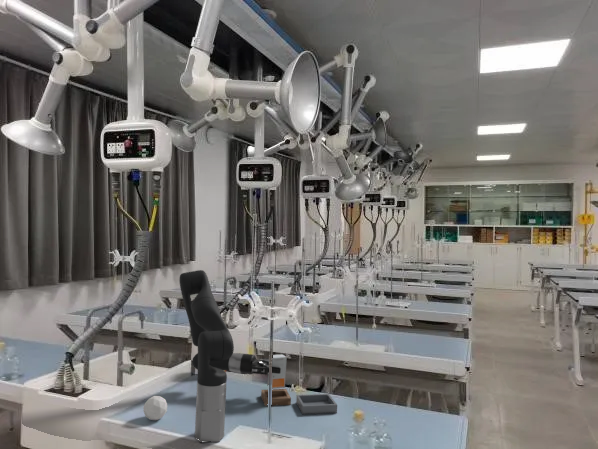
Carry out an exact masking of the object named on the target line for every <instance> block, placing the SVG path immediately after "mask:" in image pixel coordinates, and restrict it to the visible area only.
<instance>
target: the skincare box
mask: <svg viewBox="0 0 598 449" xmlns="http://www.w3.org/2000/svg"><path fill="white" fill-rule="evenodd" d="M270 355H271V354H269V356H270ZM272 355H273V358H272V367H280V368H281V373H280V374H277V373H272V389H286V388H285V387H286V374H287V360H288V358H287V356H285V355H284V354H272ZM269 356H268V357H269ZM268 366H269V365H268ZM268 385H269V373H268V374H267V387H268Z"/></svg>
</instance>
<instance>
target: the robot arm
mask: <svg viewBox="0 0 598 449" xmlns="http://www.w3.org/2000/svg"><path fill="white" fill-rule="evenodd" d="M178 280H179V287H180V292H181V295H182V296H181V297H182V301H183V304H184V308H185V312H186V315H187V320H188V322H189V329H190V335H191V340H192V344H193V345H194V346H195V347H197V353H196V354H195V355H193V358H192V360H191V363H192V366H193V368H195V369H196V370H197V378H196V379H197V380H196V381H197V382H196V400H195V401H196V403H195V419H194V420H195V422H194V423H195V426H194V439H196V438H197V439H199V440H200V441H199V440H198V441H199V443H200V442H202V441H211V442H210V443H217V442H218V443H219V442H220V441H221V440H222V439H223V438H224V437H225V428H226V427H225V423H226V403H227V402H226V400H227V380H228V376H227V372H232V373H237V374H244V375H254V374H255V375H256V374H257V375H265V376H268V373H269V366H268V365H269V357H262V358H259V359H257V357H256V355H255V354H251V353H250V354H249V353H241V352H234V350H235V347H234V340H233V337H232V334H231V332H230V330H229V328H228V327H227V325H226V322H224V320H223V316H222V315H221V312H220V309H219V306H218V303H217V301H216V298H215V296H214V294H213V291H212V290H211V289H212V288H211V285H210V281H209V278H208V275H207V273H206V271H204V270H202V269H197V270H193V271H188V272H187V271H186V272H182V273H181V274H180V275H179V279H178ZM193 295H194V296H195V295H196V296H195V297H194V298H193V300H192V298H191V296H193ZM223 370H224V371H223ZM225 371H226V372H225ZM272 373H277V374H280V373H281V368H280V367H272ZM197 439H196V440H197ZM202 443H203V442H202Z"/></svg>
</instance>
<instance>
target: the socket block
mask: <svg viewBox="0 0 598 449" xmlns="http://www.w3.org/2000/svg"><path fill="white" fill-rule="evenodd" d="M260 396H261V400H262V402H263V405H264V406H265V407H267V404H268V389H261V391H260ZM291 402H292V398H291V396H290V394H289V392H288V390H287V388H273V390H272V407H274V406H291V405H292V403H291Z"/></svg>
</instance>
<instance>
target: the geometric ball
mask: <svg viewBox="0 0 598 449" xmlns="http://www.w3.org/2000/svg"><path fill="white" fill-rule="evenodd" d="M142 411H143V413H144V416H145V417H146V418H147V419H149V420H150V421H159V419H160V420H161V419H162V418H163V417H164V416H165V415H166V413H167V412H168V403H167V400H166V399H165V398H164V397H162V396H160V395H153V396H151V397H149V398H148V399H147V400H146V402H145V403H143V410H142Z"/></svg>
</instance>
